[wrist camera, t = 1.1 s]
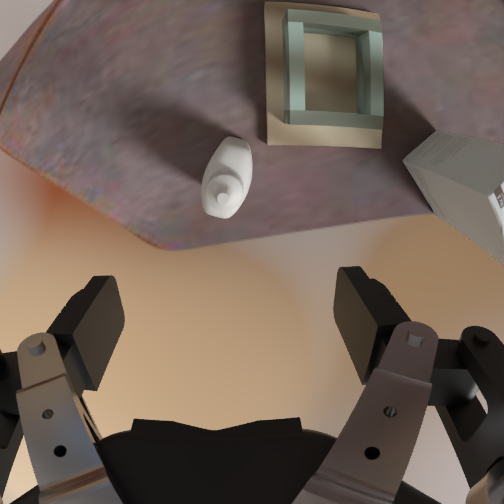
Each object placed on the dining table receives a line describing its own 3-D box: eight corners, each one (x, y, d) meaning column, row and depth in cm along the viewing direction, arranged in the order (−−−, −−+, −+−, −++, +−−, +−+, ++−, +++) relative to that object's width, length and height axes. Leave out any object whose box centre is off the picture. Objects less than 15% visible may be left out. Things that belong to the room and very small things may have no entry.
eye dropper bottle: (192, 170, 30) (164, 206, 19) (234, 128, 28) (231, 138, 17) (224, 201, 31) (216, 254, 20) (267, 162, 29) (284, 192, 19)
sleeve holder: (263, 4, 23) (267, -12, 19) (375, 16, 23) (394, 5, 19) (266, 144, 29) (271, 149, 25) (377, 147, 29) (397, 154, 25)
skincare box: (465, 185, 31) (556, 232, 17) (431, 216, 32) (516, 279, 19) (433, 125, 28) (535, 148, 14) (396, 158, 29) (491, 198, 16)
